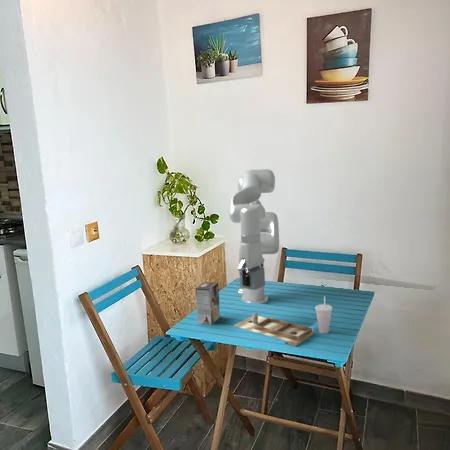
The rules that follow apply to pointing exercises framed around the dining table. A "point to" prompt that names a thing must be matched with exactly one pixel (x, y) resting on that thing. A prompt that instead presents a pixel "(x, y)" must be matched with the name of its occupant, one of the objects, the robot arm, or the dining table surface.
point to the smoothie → (323, 317)
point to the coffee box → (207, 303)
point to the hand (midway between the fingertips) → (252, 282)
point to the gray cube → (254, 278)
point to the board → (277, 329)
